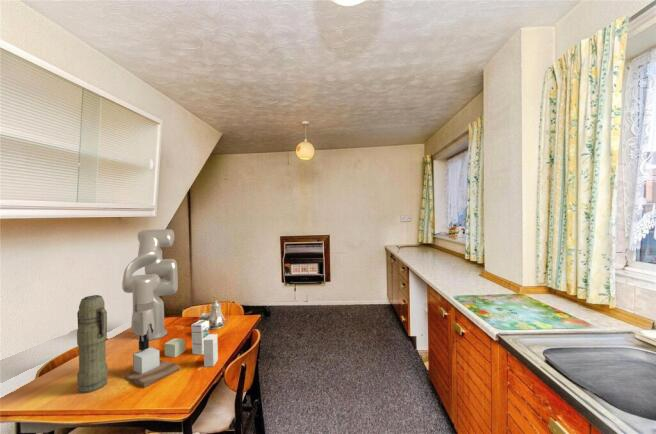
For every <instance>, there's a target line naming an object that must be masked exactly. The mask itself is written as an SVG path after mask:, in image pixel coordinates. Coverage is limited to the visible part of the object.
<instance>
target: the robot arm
mask: <svg viewBox="0 0 656 434" xmlns="http://www.w3.org/2000/svg"><path fill="white" fill-rule="evenodd" d="M137 240H138V242H139V245H138V252H137V256H136V257H135V258H134V259H133V260H131V261H130V263H128V265H127V266H126V267H125V269H124V271H123V277H122V282H121V285H122V286H121V287H122V288H121V289H122V290H123V292H124V293H127V294H132V313H131V314H132V315H131V325H130V326H131V332H132V333H133V334H135V335H137V340H138V350H139V351H142V350H145V349H147V348H149V347H150V343H149V342H150V341H152V340H157V339H161V338H164V337H165V336H166V335H168V330H167V329H165V305H164V304H165V303H164V301H163V299H162V298H161V297H163V296H170V295H174V294H176V293H177V292H178V289H179V288H178V287H179V278H178V277H179V274H178V271H179V270H178V263H177V260H176V259H174V258H165V259H163V250H162V248H168V247H172V246H173V244H174V241H175V232H174V230H172V229H170V228H165V229H164V228H162V229H145V230H140V231H138V232H137ZM142 268H144V273H145V274H138V275H137V274H136V275H134V273H135V272H136V271H138V270H140V269H142ZM161 277H164V278H161ZM166 277H167V278H166ZM160 296H161V297H160Z"/></svg>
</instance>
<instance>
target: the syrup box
mask: <svg viewBox="0 0 656 434" xmlns="http://www.w3.org/2000/svg"><path fill="white" fill-rule="evenodd" d="M208 334H210V329H209V321H207V320H200V319H198V321H196V322H194V323H191V348H192V349H191V350H192V351H191V352H192V355H197V356H199V355H200V356H201V355H203V356H204V339H205V338H206V337H207V335H208Z"/></svg>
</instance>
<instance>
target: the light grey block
mask: <svg viewBox="0 0 656 434" xmlns="http://www.w3.org/2000/svg"><path fill="white" fill-rule="evenodd" d="M159 360H160V350H159V349H156V348H155V347H154V348H153V347H151V346H149V348H147V349H145V350H142V351H141V350H139V351H137V352H134V353H133V354H132V371H133V372H134V371H135V372H137V373H139V374H143V373H145V372H147V371H149V370H152V369H154V368H156V367H158V366H160V364H159Z"/></svg>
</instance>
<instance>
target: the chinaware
mask: <svg viewBox="0 0 656 434" xmlns="http://www.w3.org/2000/svg"><path fill="white" fill-rule="evenodd" d="M197 317H198V318H199V320H207V321H209V330H219V329H222V328H223V327H224V325H225V323H226V321H227V320H226V318H225V317H224V315H223V313H222V302H219V301H218V300H217V299H215V300H214V302H212V303H211V304H210V312H206V313H205V312H203V313H200V314H199V315H198V316H197Z"/></svg>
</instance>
